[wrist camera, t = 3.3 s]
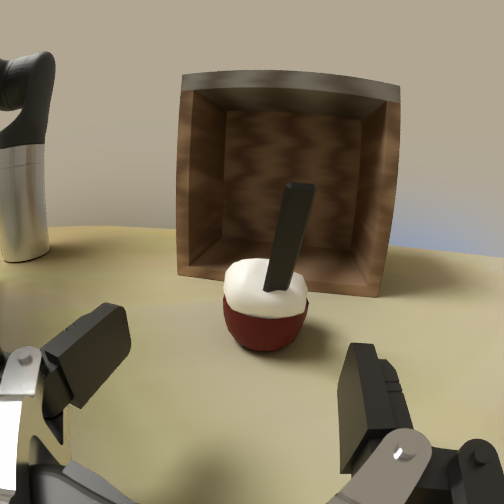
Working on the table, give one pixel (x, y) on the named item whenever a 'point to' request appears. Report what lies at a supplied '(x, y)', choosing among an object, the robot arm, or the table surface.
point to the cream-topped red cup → (272, 281)
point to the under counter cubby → (287, 172)
